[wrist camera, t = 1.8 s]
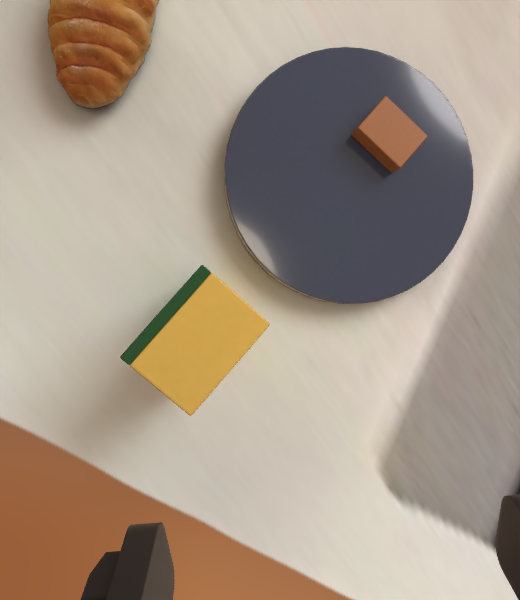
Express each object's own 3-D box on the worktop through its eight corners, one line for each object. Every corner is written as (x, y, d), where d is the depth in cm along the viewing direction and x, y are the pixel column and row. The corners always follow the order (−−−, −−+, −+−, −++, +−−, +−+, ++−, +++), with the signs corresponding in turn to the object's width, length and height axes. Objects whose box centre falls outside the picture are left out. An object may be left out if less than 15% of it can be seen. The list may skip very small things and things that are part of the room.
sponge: (148, 337, 31) (119, 357, 21) (205, 274, 32) (202, 264, 22) (197, 378, 32) (190, 417, 22) (252, 315, 32) (270, 324, 22)
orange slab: (350, 135, 31) (357, 127, 30) (377, 104, 31) (386, 94, 30) (391, 174, 32) (400, 168, 30) (418, 143, 32) (428, 135, 30)
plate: (171, 188, 31) (169, 182, 30) (335, 6, 33) (341, -8, 31) (357, 353, 33) (364, 356, 32) (507, 174, 34) (521, 169, 33)
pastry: (141, 122, 31) (131, 98, 27) (42, 102, 30) (17, 74, 27) (164, -9, 31) (157, -51, 27) (66, -32, 31) (45, -79, 27)
